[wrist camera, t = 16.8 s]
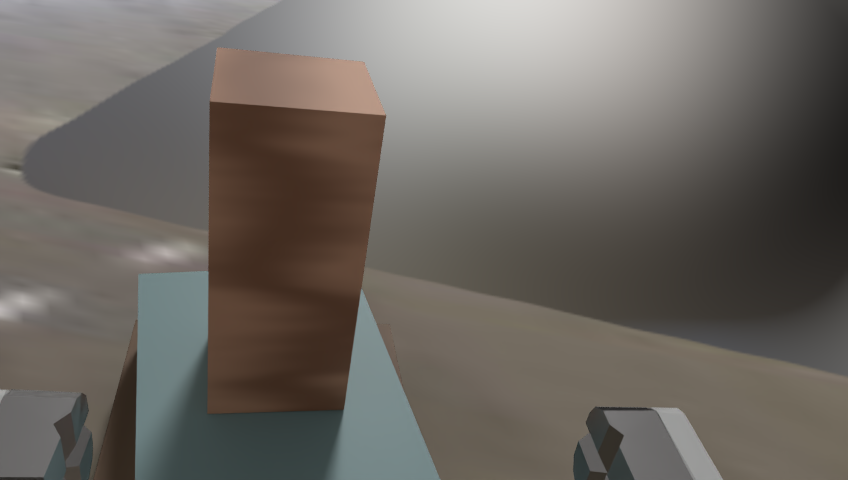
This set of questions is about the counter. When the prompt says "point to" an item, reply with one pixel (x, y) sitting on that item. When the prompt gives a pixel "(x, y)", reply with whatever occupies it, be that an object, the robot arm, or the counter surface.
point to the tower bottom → (120, 436)
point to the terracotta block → (287, 227)
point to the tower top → (261, 431)
